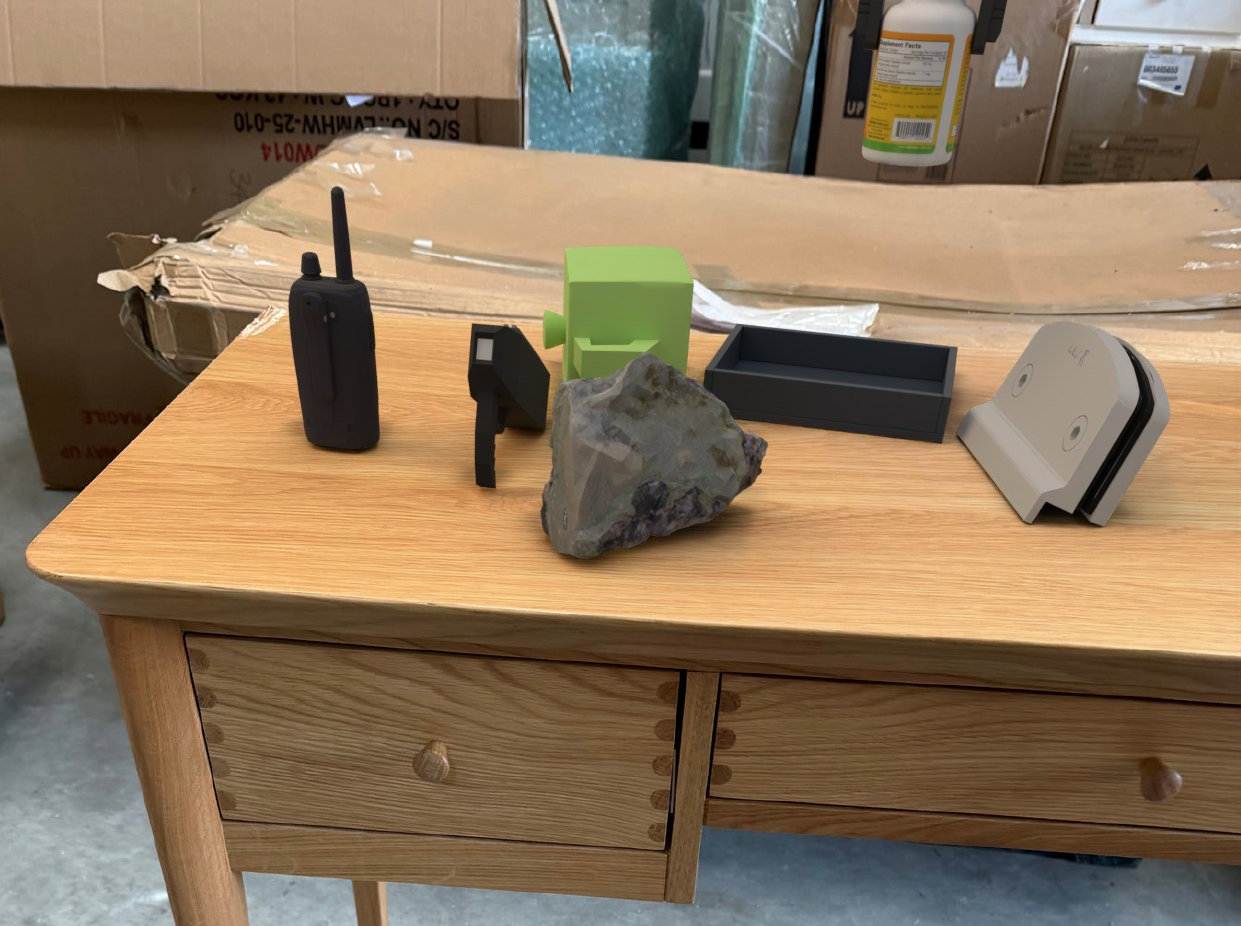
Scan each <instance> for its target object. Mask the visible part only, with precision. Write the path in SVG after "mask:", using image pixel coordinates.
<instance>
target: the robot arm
mask: <svg viewBox="0 0 1241 926" xmlns="http://www.w3.org/2000/svg"><path fill="white" fill-rule="evenodd" d="M1007 4H1008V0H980V5H979V11H978V15H977V26H976V32H975V37H974V42H973V47H972V52H971V56H972V55H973V56H975V55H976V56H984V55H985V49H986V45H987V43H989V44H990V43H991V44H995V43H996V42H997V40H998V39H999V37H1000V35H1001V32H1002V29H1003V23H1004V18H1005V14H1006V9H1007V6H1008V5H1007ZM885 5H886V0H858V5H857V12H856V18H855V31H856V36H857V38H865V39H864V46H863V50H865V51H877V45H878V38H879V32H880V26H881V21H882V17H883V14H884V13H885V7H886V6H885Z"/></svg>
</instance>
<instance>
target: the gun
mask: <svg viewBox="0 0 1241 926" xmlns="http://www.w3.org/2000/svg"><path fill="white" fill-rule="evenodd" d="M510 326H511V327H510ZM510 326H509V324H508V323H503V325H501V324H500V325H498V324H486V323H473V322H472V323H471V328H470V329H471V330H470V340H469V341H470V342H469V354H468V367H467V384H468V390H469V397H470V398H472V400H473V401H474V402H475V403H476V408H475V409H476V410H475V411H476V412H475V425H474V476H475V485H476V486H477V487H479V488H484V489H493V490H494V489H497V478H496V476H497V475H496V469H495V468H496V456H495V455H496V450H497V449H496V447H497V445H496V436H497V435H500V436H501V435H503V434H504V433H505V430H506V429H513V430H524V431H534V432H535V431H537V432H546V425H547V414H548V405H549V395H550V384H551V372H549V370H548V368H547V366H546V365H545V364H544V362H543V360H542V358H541V357H540V355H539V354H538V353H537V351H536V349H535V348H534V347H533V346H532V344H531V343H530V341H529V339H527V337H526V335H525V334H524V333H523V331H522V330H521V329H520V328H519V327H518V326H517V325H516V324H511V325H510Z"/></svg>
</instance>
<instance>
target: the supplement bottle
mask: <svg viewBox="0 0 1241 926" xmlns="http://www.w3.org/2000/svg"><path fill="white" fill-rule="evenodd" d="M976 13H977V12H976V11H975V10H974V9H973V8H972V7H971V6H970V5H968V4H967V2H966V0H899V1H897V2H896V3H893V4H891V5H890V6H888V7H887V8H886V10H884V13H883V17H882V21H881V26H880V32H879V38H878V45H877V50H876V52H875V59H874V65H873V72H872V78H871V85H870V93H869V99H868V105H867V110H866V111H867V112H866V118H865V119H866V120H865V126H864V132H863V138H862V146H861V154H862V157H863V158H864V159H865V160H866V161H869V162H873V163H877V164H883V165H891V166H901V167H919V168H920V167H921V168H922V167H923V168H924V167H934V166H941V165H944V164H946V163H948V162H949V161H950V160H951V158H952V156H953V150H954V148H955V147H954V146H955V141H956V135H957V130H958V125H959V120H960V116H961V115H960V114H961V110H962V104H963V99H964V94H965V88H966V85H967V84H966V83H967V80H968V74H969V69H970V64H971V59H972V55H971V52H972V47H973V42H974V37H975V32H976V26H977V20H978V15H977V14H976Z"/></svg>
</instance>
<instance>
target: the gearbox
mask: <svg viewBox="0 0 1241 926" xmlns="http://www.w3.org/2000/svg"><path fill="white" fill-rule="evenodd" d="M563 257H564V261H563V264H564V265H563V307H562V308H563V310H562V315H561V314H559V313H556V312H554V311H552V310H549V309H544V311H543V316H542V317H543V318H542V345H543V348H544V351H545V350H550V349H553V348H556V347H559V346H561V345H562V356H561V357H562V358H561V359H562V360H561V365H562V366H561V373H562V374H561V375H562V382H563V381H568V380H574V379H582V378H586V379H590V380H591V379H595V378H598V377H600V378H606V377H608V376H610V375H611V374H612V373H614V372H615V371H616V370H622V369H623V368H624V367H625V366H626V365H627V364H628V363H629V362H630V361H631V360H632V359H637V358H638V357H639V356H640V355H641V354H642V352H646V353H650V354H652V355H654V356H656V357H657V358H659V359H660V360H661V361H662V362H664V363H667V364H670V365H671V366H673V367H674V368H677V369H678V370H680V371H681V372H682V374H683V375H684V377H687V370H688V360H689V359H688V358H689V347H690V336H691V326H692V325H691V323H692V313H693V312H692V311H693V300H694V286H695V282H694V279H693V276H692V273H691V271H690V268H689V266H688V264H687V261H686V260H685V258H684V255H683V254H682V253H681V251H680V249H679V248H678V247H670V246H659V245H601V246H600V245H599V246H596V245H595V246H567V247H566V248H564V256H563Z"/></svg>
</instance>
